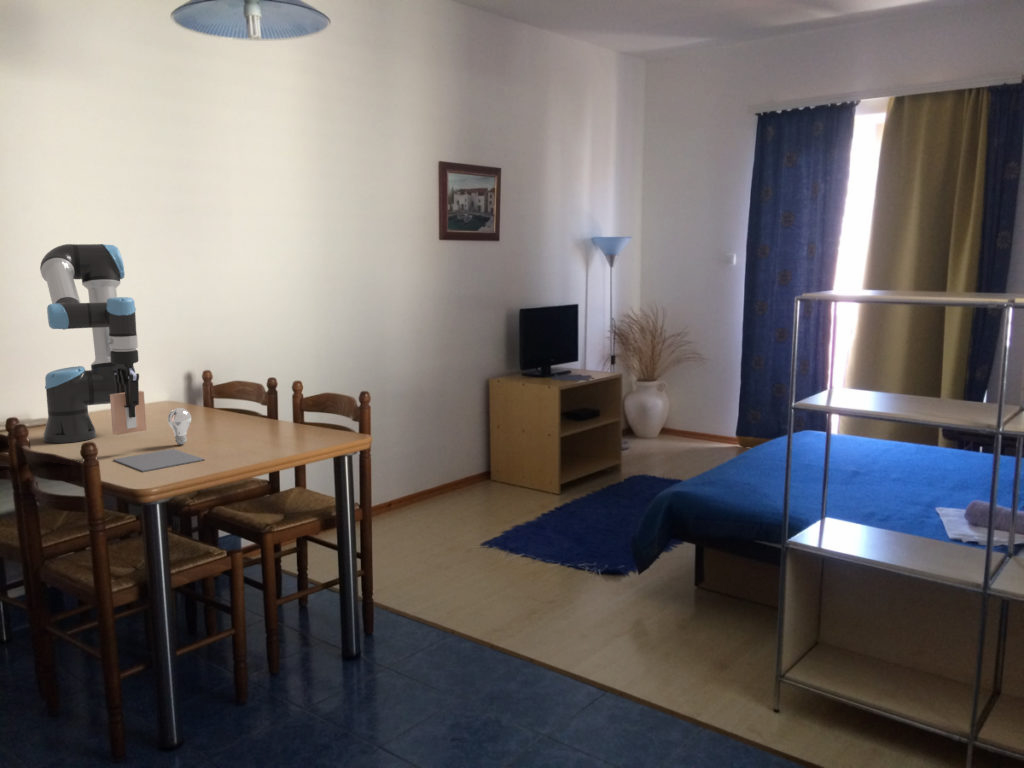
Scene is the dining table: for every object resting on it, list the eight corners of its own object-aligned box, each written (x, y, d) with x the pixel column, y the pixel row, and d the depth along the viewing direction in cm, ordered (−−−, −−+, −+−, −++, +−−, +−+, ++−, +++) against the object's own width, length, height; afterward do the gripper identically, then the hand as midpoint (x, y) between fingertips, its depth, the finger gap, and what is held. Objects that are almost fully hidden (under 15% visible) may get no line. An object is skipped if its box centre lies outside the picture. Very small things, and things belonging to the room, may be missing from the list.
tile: (112, 433, 246) (109, 394, 244) (142, 428, 252) (140, 390, 250) (116, 435, 244) (113, 395, 242) (146, 430, 251) (143, 391, 249)
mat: (113, 460, 241) (113, 459, 241) (173, 450, 254) (173, 448, 254) (143, 472, 228) (142, 470, 227) (204, 460, 241) (204, 459, 241)
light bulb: (172, 448, 256) (170, 410, 254) (167, 444, 262) (164, 407, 260) (195, 445, 260) (193, 408, 258) (189, 441, 266) (187, 405, 264)
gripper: (100, 348, 246) (106, 424, 250) (122, 353, 236) (127, 433, 240) (125, 346, 252) (130, 420, 256) (148, 351, 241) (153, 429, 246)
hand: (129, 426), depth 248 cm, fingers closed on tile, 2 cm apart
